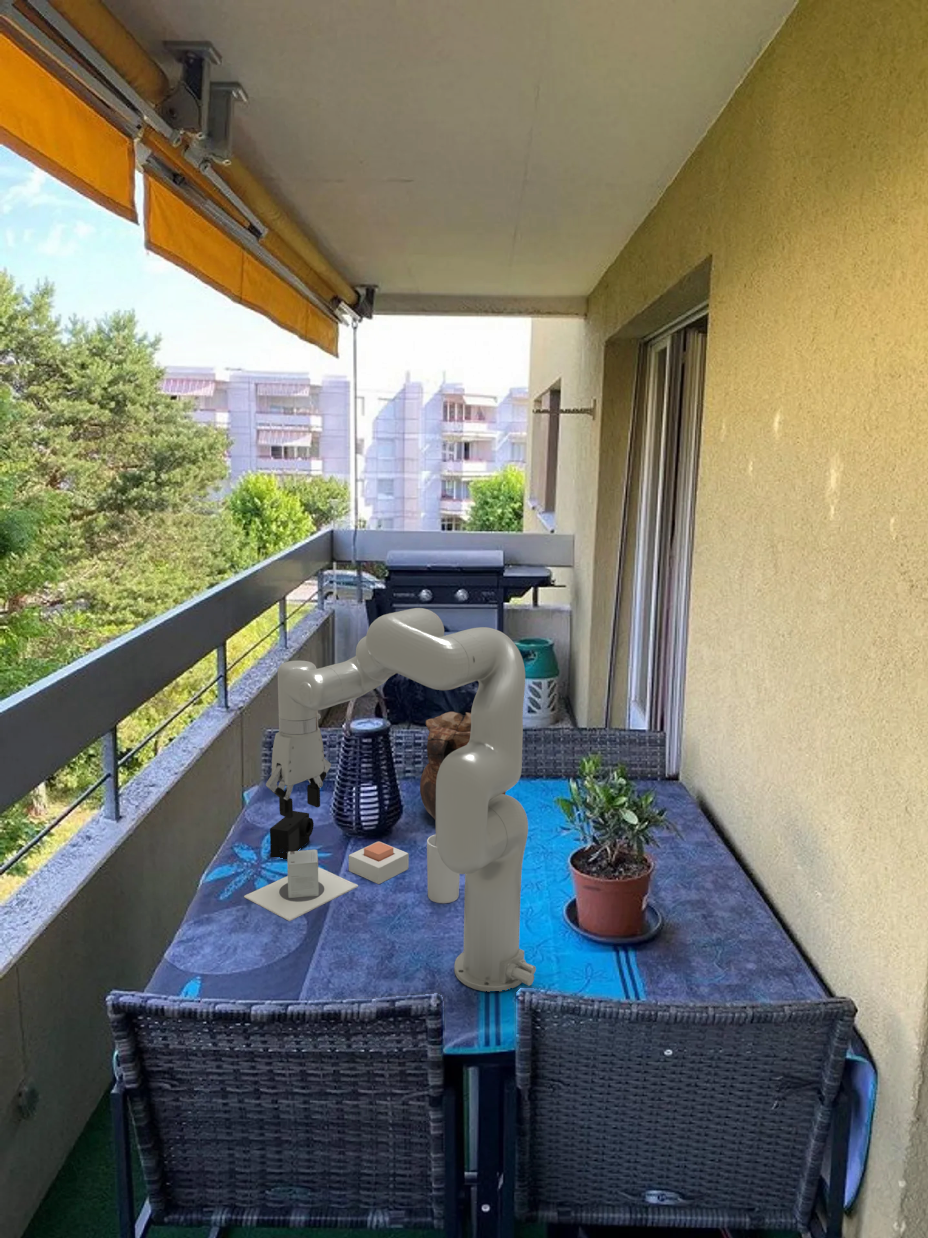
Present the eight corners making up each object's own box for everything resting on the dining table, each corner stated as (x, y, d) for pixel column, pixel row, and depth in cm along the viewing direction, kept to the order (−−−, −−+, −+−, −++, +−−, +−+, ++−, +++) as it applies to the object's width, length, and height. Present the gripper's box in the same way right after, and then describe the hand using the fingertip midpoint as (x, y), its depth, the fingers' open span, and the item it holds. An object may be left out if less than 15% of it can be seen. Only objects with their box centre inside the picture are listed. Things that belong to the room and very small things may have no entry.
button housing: (408, 869, 189) (408, 853, 188) (378, 884, 182) (378, 868, 182) (378, 856, 195) (378, 841, 194) (348, 870, 188) (348, 855, 187)
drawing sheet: (358, 886, 181) (358, 884, 181) (289, 921, 167) (289, 919, 167) (312, 865, 190) (312, 864, 190) (244, 897, 176) (243, 895, 176)
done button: (393, 858, 188) (393, 847, 188) (378, 865, 185) (378, 854, 185) (378, 852, 191) (378, 841, 191) (364, 859, 188) (364, 848, 187)
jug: (428, 797, 228) (428, 704, 224) (508, 803, 226) (511, 709, 221) (411, 833, 207) (411, 731, 202) (500, 840, 204) (502, 736, 199)
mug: (455, 906, 174) (456, 849, 172) (422, 902, 175) (423, 845, 173) (466, 882, 184) (467, 828, 181) (435, 878, 185) (436, 825, 183)
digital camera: (292, 862, 192) (292, 831, 190) (270, 858, 193) (269, 828, 192) (314, 842, 202) (314, 813, 200) (293, 838, 203) (292, 810, 202)
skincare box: (319, 896, 176) (318, 862, 175) (288, 899, 175) (287, 864, 174) (318, 882, 182) (317, 848, 181) (288, 884, 181) (287, 851, 179)
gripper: (319, 711, 181) (320, 793, 184) (250, 730, 168) (253, 819, 171) (344, 718, 176) (345, 803, 180) (275, 739, 163) (277, 830, 166)
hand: (300, 810), depth 175 cm, fingers open, 6 cm apart
